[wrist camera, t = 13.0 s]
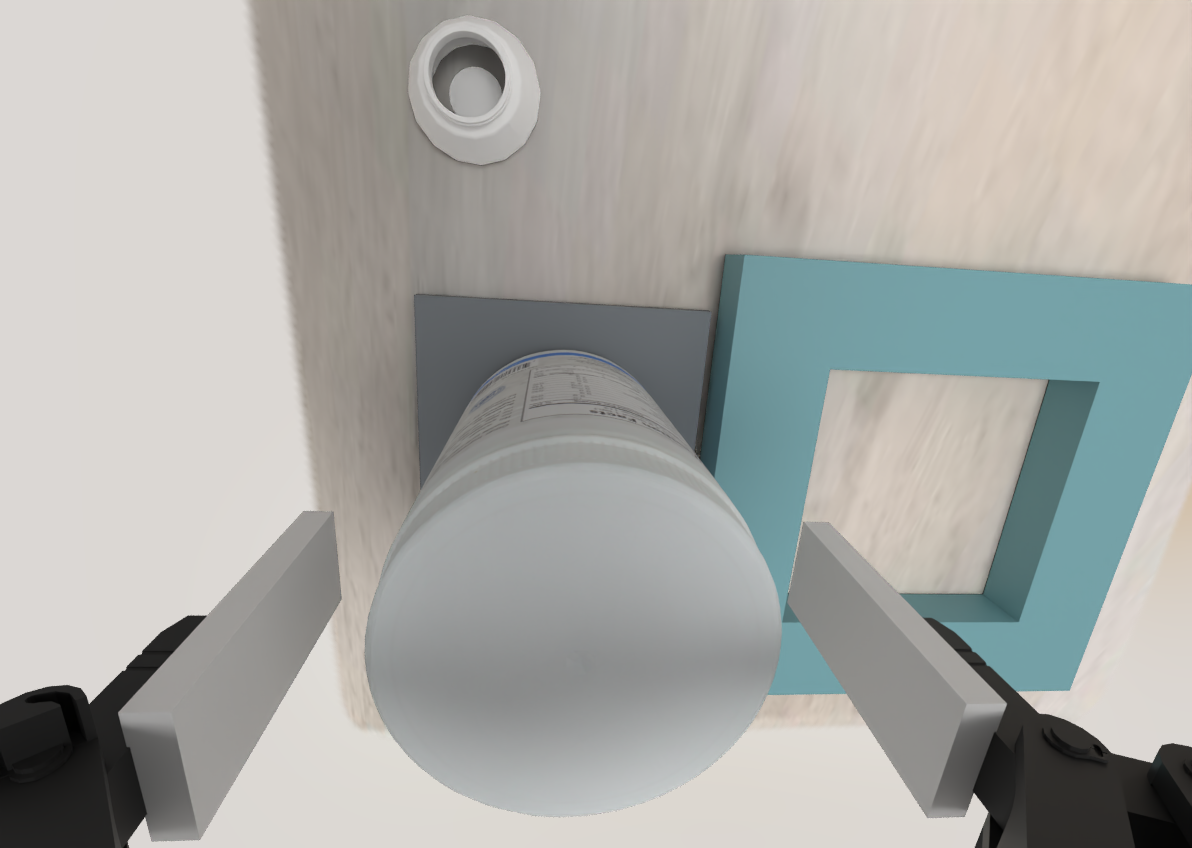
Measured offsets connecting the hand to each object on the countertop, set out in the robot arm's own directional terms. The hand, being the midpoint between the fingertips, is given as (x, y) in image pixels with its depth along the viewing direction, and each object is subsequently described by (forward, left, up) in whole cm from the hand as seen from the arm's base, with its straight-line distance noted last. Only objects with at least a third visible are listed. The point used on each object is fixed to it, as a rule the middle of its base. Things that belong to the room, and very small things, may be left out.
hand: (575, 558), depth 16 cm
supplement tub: (0, 0, -11) cm, 11 cm away
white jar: (-14, -4, -12) cm, 19 cm away
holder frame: (+2, +18, -12) cm, 21 cm away
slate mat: (0, 0, -12) cm, 12 cm away
